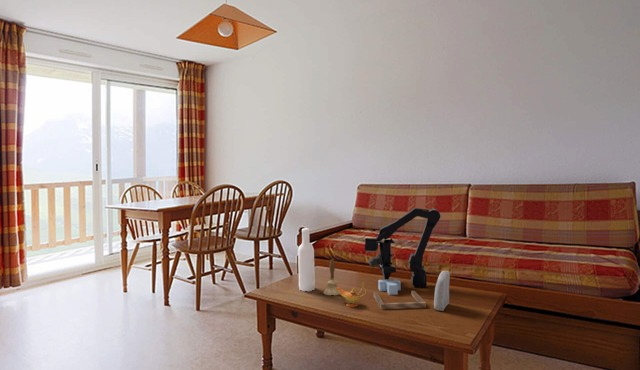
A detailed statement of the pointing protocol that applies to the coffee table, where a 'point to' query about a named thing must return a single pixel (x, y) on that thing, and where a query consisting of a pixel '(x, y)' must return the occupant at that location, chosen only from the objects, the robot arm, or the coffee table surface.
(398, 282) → the grey stepped block
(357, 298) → the magic lamp
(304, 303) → the coffee table surface
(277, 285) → the coffee table surface
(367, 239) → the robot arm
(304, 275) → the bottle
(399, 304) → the bay
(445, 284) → the decorative stone
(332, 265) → the hand bell
